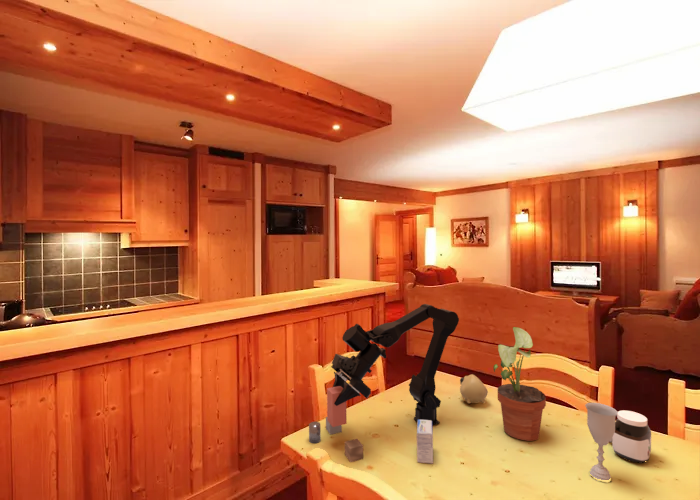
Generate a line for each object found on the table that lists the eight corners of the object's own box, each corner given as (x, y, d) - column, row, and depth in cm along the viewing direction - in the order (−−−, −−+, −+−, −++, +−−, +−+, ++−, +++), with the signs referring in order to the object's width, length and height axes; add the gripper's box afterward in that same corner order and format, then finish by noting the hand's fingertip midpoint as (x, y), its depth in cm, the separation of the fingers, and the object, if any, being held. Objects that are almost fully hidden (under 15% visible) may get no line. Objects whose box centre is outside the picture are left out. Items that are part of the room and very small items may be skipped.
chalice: (578, 468, 99) (578, 403, 98) (601, 467, 100) (602, 401, 99) (598, 486, 92) (599, 416, 91) (624, 485, 92) (625, 414, 92)
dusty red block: (340, 417, 115) (340, 385, 114) (346, 423, 111) (346, 391, 110) (327, 420, 113) (326, 388, 113) (332, 427, 109) (332, 394, 108)
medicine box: (433, 464, 102) (433, 433, 101) (416, 462, 102) (416, 432, 102) (432, 448, 109) (432, 420, 109) (417, 446, 110) (417, 418, 110)
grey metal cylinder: (318, 436, 117) (318, 420, 117) (322, 441, 113) (322, 425, 113) (307, 438, 115) (307, 423, 115) (311, 444, 112) (310, 428, 112)
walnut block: (357, 451, 108) (357, 438, 108) (363, 459, 104) (362, 445, 104) (344, 455, 107) (344, 441, 106) (350, 462, 103) (350, 448, 103)
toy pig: (481, 395, 146) (481, 368, 145) (491, 409, 134) (491, 380, 133) (456, 394, 146) (456, 368, 146) (463, 408, 134) (463, 380, 134)
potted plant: (489, 419, 126) (489, 318, 125) (537, 423, 123) (538, 320, 122) (498, 444, 111) (498, 330, 110) (553, 450, 108) (554, 332, 106)
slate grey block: (337, 426, 123) (337, 414, 123) (341, 432, 119) (341, 420, 119) (325, 428, 121) (325, 417, 121) (330, 434, 118) (329, 422, 117)
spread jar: (640, 469, 99) (640, 426, 98) (594, 448, 108) (594, 410, 108) (657, 454, 105) (658, 414, 105) (613, 436, 115) (613, 400, 114)
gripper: (336, 337, 121) (305, 375, 117) (360, 353, 104) (324, 398, 100) (358, 357, 125) (328, 395, 120) (385, 376, 108) (351, 421, 103)
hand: (332, 401), depth 111 cm, fingers closed on dusty red block, 4 cm apart
